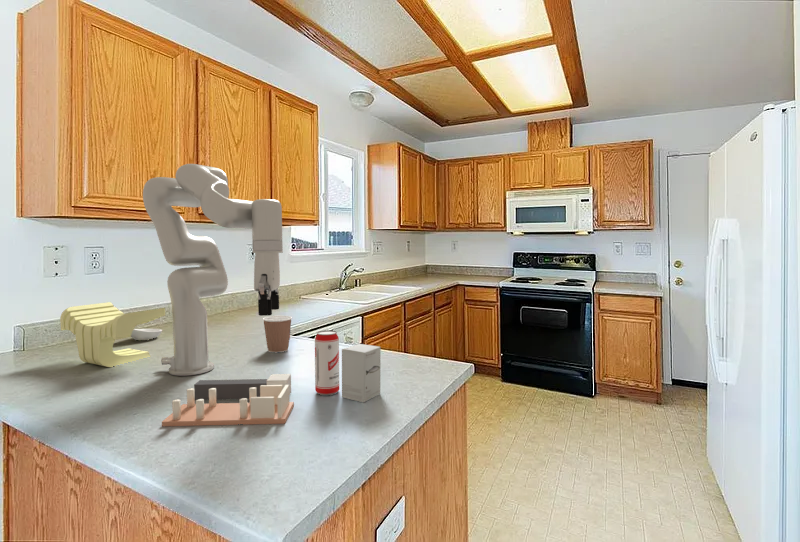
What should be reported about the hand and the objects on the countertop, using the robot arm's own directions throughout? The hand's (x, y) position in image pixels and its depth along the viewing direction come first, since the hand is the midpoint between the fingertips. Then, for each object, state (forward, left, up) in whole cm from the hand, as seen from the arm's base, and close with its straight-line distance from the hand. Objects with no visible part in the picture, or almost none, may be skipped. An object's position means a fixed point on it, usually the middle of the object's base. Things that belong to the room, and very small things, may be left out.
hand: (269, 312), depth 113 cm
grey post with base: (-5, -5, -21) cm, 22 cm away
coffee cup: (-8, +42, -21) cm, 48 cm away
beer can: (+15, -3, -21) cm, 26 cm away
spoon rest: (-69, +59, -21) cm, 93 cm away
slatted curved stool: (-59, +31, -21) cm, 70 cm away
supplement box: (+24, -6, -21) cm, 33 cm away
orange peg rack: (-5, -17, -21) cm, 27 cm away
